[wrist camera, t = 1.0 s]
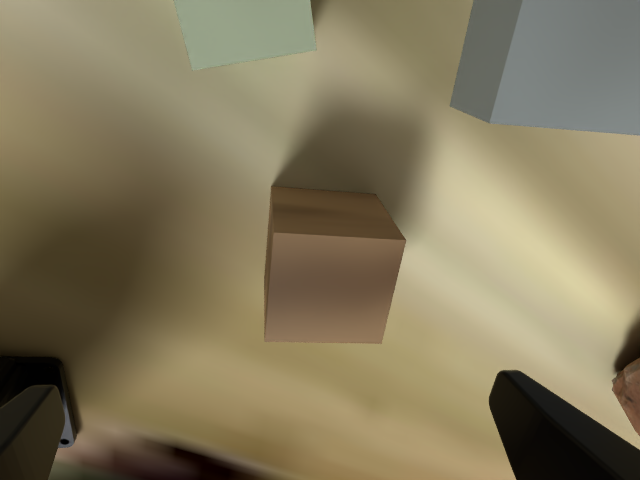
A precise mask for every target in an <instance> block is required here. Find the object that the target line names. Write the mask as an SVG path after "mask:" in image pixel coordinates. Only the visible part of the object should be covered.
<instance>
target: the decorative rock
mask: <svg viewBox="0 0 640 480" xmlns="http://www.w3.org/2000/svg"><path fill="white" fill-rule="evenodd" d="M612 382H613V388H612V391H613V392H614V394H615V395H616V397H617V399H618V401H619V403H620V404H621V406H622V408H623V410H624V411H625V413H626V415H627V417H628V419H629V420H630V422H631V424H632V426H633V427H634V429H635V431H636V432H637V433H638V435H639V436H640V358H638V359H637V360H635V361H633V362H632V363H630V364H628V365H627V366H626V367H625V368H624V370H623V371H621V372H619V373H618V374H617V376H616V378H614V379H613V380H612Z"/></svg>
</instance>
